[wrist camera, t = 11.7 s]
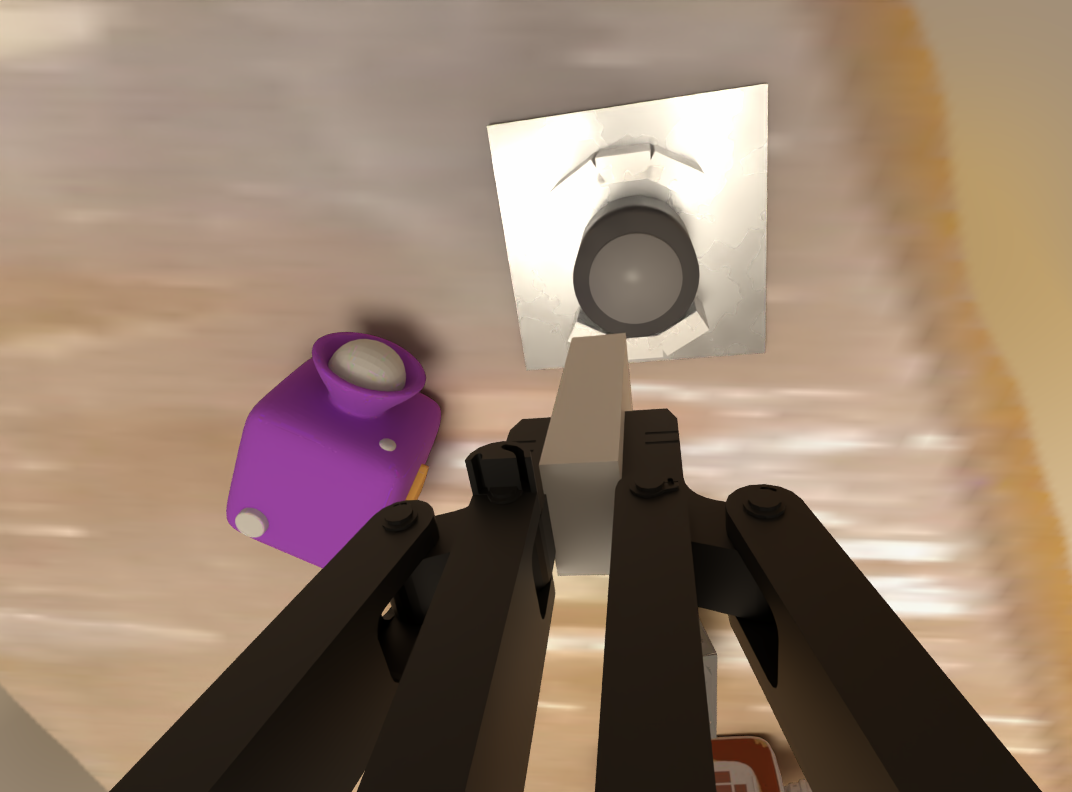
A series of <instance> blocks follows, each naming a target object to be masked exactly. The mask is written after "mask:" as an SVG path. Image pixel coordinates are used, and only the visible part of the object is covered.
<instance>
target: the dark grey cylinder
mask: <svg viewBox="0 0 1072 792" xmlns="http://www.w3.org/2000/svg"><path fill="white" fill-rule="evenodd" d="M699 277H700V273H699V264H698V259H697V256H696V253H695V250H694V247H693V245H692V242H691V239H690V236H689V234H688V231H687V228H686V226H685V224H684V222H683V220H682V219H681V218H680V216H679V215H678V214H677V213H676V212H675V210H673V209H672V208H671V207H670V206H668V205H667V204H665V203H664V202H662V201H659V200H657V199H655V198H651V197H646V196H628V197H623V198H620V199H617V200H614V201H612V202H610V203H608V204H607V205H605V206H604V207H602V208H601V209H600V210H599V211H598V212H597V213H596V214H595V215H594V216H593V217H592V218H591V220H590V221H589V222H588V224H587V226H586V228H585V230H584V232H583V235H582V239H581V242H580V246H579V250H578V254H577V257H576V261H575V265H574V271H573V286H574V291H575V295H576V298H577V300H578V303H579V305H580V307H581V308H582V310H583V311H584V313H585V314H586V315H587V317H588V318H589V319H590V320H591V321H592V322H594V323H595V324H596V325H598V326H599V327H600V328H602V329H604V330H606V331H608V332H610V333H613V334H618V333H626V337H643V336H648V335H653V334H655V333H658V332H661V331H663V330H665V329H667V328H669V327H670V326H672V325H673V324H674V323H676V322H677V321H678V320H679V319H680V318H681V317H682V316H683V315H684V314H685V313H686V312H687V310H688V309H689V307H690V306H691V304H692V302H693V300H694V298H695V296H696V293H697V289H698V285H699Z"/></svg>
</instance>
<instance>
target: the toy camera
mask: <svg viewBox="0 0 1072 792" xmlns="http://www.w3.org/2000/svg"><path fill="white" fill-rule="evenodd" d="M425 381H426V375H425V372H424V369H423V367H422V366H421V364H420V363H419V362H418V360H417V359H416V358H415V357H414V356H412V355H411V354H410V353H409V352H408V351H406V350H405V349H403V348H402V347H400V346H398V345H397V344H395V343H393V342H391V341H388V340H386V339H383V338H380V337H377V336H373V335H369V334H363V333H355V332H339V333H332V334H328V335H325V336H323V337H321V338H319V339H318V340H317V341H316V342H315V344H314V345H313V349H312V358H311V359H309V360H308V361H306V362H305V363H304V364H302V365H301V366H300V367H299V368H297V369H296V370H295V371H294V372H292V373H291V374H290V375H289V376H288V377H286V378H285V379H284V380H283V381H282V382H281V383H279V384H278V385H277V386H276V387H275V388H274V389H272V390H271V391H270V392H269V393H268V394H267V395H266V396H265V397H263V398H262V399H261V400H260V401H259V402H258V403H257V404H256V405H255V406H254V408H253V409H252V410H251V412H250V413H249V415H248V417H247V420H246V423H245V426H244V429H243V433H242V438H241V442H240V446H239V450H238V455H237V459H236V464H235V469H234V473H233V478H232V482H231V487H230V491H229V497H228V502H227V510H226V512H227V520H228V522H229V524H230V525H231V526H232V527H233V528H234V529H236V530H237V531H239V532H241V533H242V534H244V535H246V536H248V537H251V538H253V539H255V540H257V541H260V542H262V543H264V544H267V545H269V546H271V547H274V548H276V549H278V550H281V551H283V552H285V553H288V554H290V555H293V556H295V557H297V558H300V559H302V560H304V561H307V562H309V563H311V564H314V565H316V566H318V567H321V568H324V567H325V566H326V564H327V563H328V562H329V561H330V560H331V559H332V558H333V557H334V556H335V555H336V554H337V553H338V552H339V551H340V550H341V549H342V548H343V547H344V546H345V545H346V544H347V543H348V541H349V540H350V539H351V538H352V537H353V536H354V535H355V534H356V533H357V532H358V531H359V530H360V529H361V528H362V527H363V526H364V525H365V524H366V523H367V522H368V521H369V520H370V518H371V517H372V516H373V515H375V514H376V513H377V512H379V511H380V510H381V509H382V508H385V507H387V506H389V505H391V504H393V503H396V502H401V501H405V500H417V499H418V497H419V495H420V493H421V491H422V488H423V485H424V482H425V478H426V475H427V472H428V469H429V467H428V466H427V465H425V463H426V461H427V458H428V456H429V453H430V451H431V448H432V446H433V443H434V441H435V438H436V435H437V432H438V429H439V426H440V421H441V410H440V407H439V405H438V404H437V403H436V402H435V401H434V400H432V399H431V398H429V397H427V396H426V395H424V394H422V393H420V392H419V391H420V390H421V389H422V388H423V387H424V385H425Z"/></svg>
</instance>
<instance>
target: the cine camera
mask: <svg viewBox="0 0 1072 792" xmlns="http://www.w3.org/2000/svg"><path fill="white" fill-rule="evenodd" d="M711 742H712V752H713V762H714V772H715V782H716V791H717V792H812V790H811V788H810V786H809V784H808V782H807V781H805V780H804V779H800V780H799V782H798V783H789V784H788V785H787V786H785V787H783V782H782V777H781V774H780V770H779V767H778V764H777V760H776V757H775V754H774V752H773V750H772V748H771V746H770V745H769V743H768V742H767V741H766V740H764V739H762V738H760V737H755V736H730V737H716V738H713V739H711Z"/></svg>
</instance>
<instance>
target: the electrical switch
mask: <svg viewBox="0 0 1072 792" xmlns="http://www.w3.org/2000/svg"><path fill="white" fill-rule="evenodd" d="M699 625H700V635H701V642H702V643H701V644H702V654H703V664H704V674H705V684H706V693H707V703H708V713H709V723H710V722H711V723H710V733H711V739H713V738H716V724H717V654H716V653H715V652H716V651H715V649H714V647H713V645H712V643H711V641H710V639H709V637H708V635H707V633H706V631H705V629H704V627H703V625H702V623H701V621H700V619H699ZM702 640H703V641H702ZM712 653H715V654H712ZM708 654H710V655H708ZM704 655H706V656H704Z"/></svg>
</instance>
